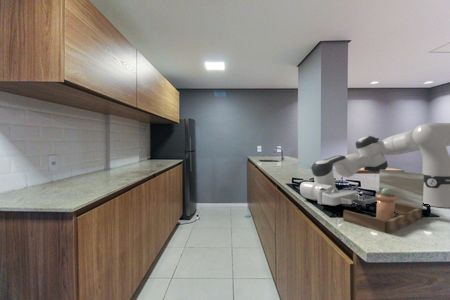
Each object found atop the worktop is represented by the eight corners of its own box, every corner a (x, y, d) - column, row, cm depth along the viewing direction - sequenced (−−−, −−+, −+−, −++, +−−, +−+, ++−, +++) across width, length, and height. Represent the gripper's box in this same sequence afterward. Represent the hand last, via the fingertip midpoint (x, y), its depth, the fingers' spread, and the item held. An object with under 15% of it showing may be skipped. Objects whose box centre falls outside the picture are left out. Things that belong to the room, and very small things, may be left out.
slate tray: (351, 197, 136) (351, 192, 136) (377, 202, 126) (377, 197, 125) (337, 200, 129) (337, 195, 129) (363, 206, 118) (363, 201, 118)
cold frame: (379, 208, 116) (380, 169, 114) (422, 217, 102) (424, 173, 101) (343, 220, 100) (344, 175, 99) (388, 233, 86) (390, 181, 85)
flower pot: (380, 216, 105) (380, 185, 104) (398, 220, 99) (399, 188, 98) (371, 219, 101) (372, 187, 100) (390, 224, 95) (391, 191, 94)
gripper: (341, 197, 126) (370, 204, 114) (315, 204, 115) (344, 211, 103) (341, 185, 126) (370, 190, 114) (315, 190, 114) (344, 196, 103)
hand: (358, 200), depth 109 cm, fingers open, 8 cm apart
